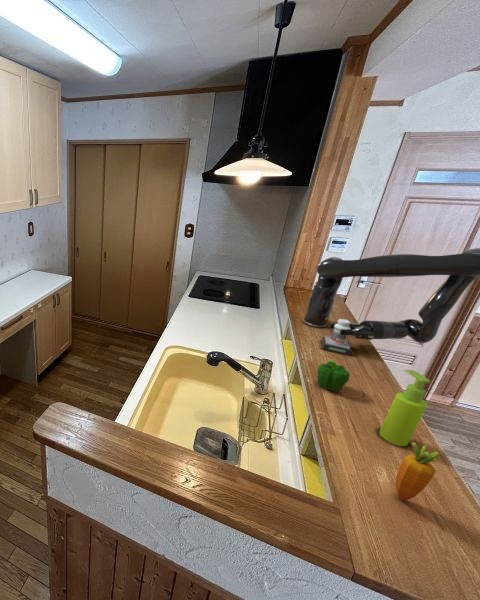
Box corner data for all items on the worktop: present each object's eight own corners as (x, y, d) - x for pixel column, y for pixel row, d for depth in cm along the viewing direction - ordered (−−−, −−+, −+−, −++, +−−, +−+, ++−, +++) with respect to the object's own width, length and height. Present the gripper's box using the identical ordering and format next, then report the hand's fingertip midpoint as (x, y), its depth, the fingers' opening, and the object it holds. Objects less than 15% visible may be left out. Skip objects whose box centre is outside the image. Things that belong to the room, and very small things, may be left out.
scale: (321, 341, 143) (323, 335, 141) (346, 346, 138) (348, 340, 137) (322, 349, 135) (324, 343, 134) (349, 355, 131) (352, 349, 130)
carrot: (380, 489, 74) (405, 439, 69) (399, 488, 75) (426, 438, 69) (402, 510, 70) (430, 458, 64) (422, 509, 70) (453, 457, 65)
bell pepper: (344, 386, 111) (354, 361, 107) (342, 397, 105) (351, 371, 102) (315, 376, 116) (323, 352, 113) (311, 386, 111) (320, 361, 107)
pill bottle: (334, 337, 139) (341, 317, 135) (348, 343, 134) (355, 322, 131) (326, 340, 137) (333, 319, 133) (341, 346, 132) (348, 324, 129)
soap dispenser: (393, 428, 93) (420, 369, 86) (413, 447, 86) (445, 384, 79) (371, 426, 93) (396, 367, 86) (390, 445, 87) (419, 383, 80)
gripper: (365, 314, 139) (326, 313, 139) (395, 329, 125) (351, 328, 125) (360, 330, 141) (321, 329, 142) (388, 346, 128) (345, 345, 128)
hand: (335, 328), depth 133 cm, fingers closed on pill bottle, 5 cm apart
